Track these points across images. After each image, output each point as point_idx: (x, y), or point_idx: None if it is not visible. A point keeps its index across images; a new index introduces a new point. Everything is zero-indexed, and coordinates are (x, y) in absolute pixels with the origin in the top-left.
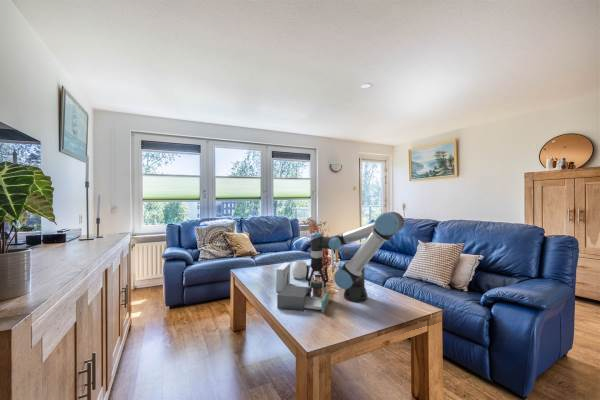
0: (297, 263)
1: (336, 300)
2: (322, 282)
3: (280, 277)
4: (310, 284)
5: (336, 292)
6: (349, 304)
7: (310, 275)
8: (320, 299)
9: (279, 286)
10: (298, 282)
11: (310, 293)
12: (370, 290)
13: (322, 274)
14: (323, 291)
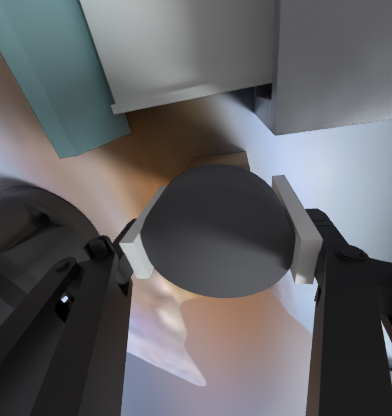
0: None
1: (97, 173)
2: (163, 275)
3: None
4: (299, 217)
5: (154, 268)
6: (7, 141)
7: (383, 386)
8: (150, 81)
9: None
10: (385, 342)
11: (263, 99)
12: (63, 300)
13: (44, 397)
14: (157, 193)
